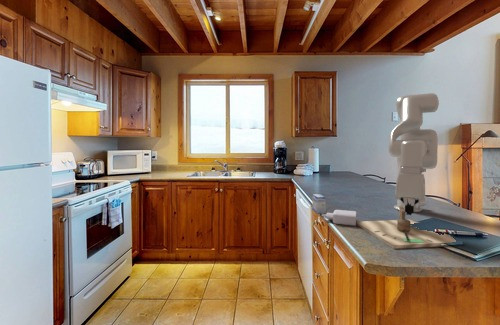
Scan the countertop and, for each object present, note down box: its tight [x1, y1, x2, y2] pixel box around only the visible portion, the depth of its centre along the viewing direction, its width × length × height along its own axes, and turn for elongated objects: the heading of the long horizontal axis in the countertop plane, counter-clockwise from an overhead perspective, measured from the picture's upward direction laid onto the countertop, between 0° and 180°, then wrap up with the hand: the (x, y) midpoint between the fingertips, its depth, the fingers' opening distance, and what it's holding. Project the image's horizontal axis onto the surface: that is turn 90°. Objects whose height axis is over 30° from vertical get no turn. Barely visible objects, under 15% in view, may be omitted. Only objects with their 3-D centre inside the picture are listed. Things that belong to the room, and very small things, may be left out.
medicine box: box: [311, 193, 327, 215], centre depth 134 cm, size 8×4×9 cm, turn 5°
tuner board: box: [356, 219, 456, 250], centre depth 101 cm, size 26×26×1 cm
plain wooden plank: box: [396, 206, 410, 241], centre depth 101 cm, size 24×4×7 cm, turn 155°
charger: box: [321, 209, 357, 227], centre depth 118 cm, size 5×9×15 cm
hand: (409, 214), depth 107 cm, fingers closed
